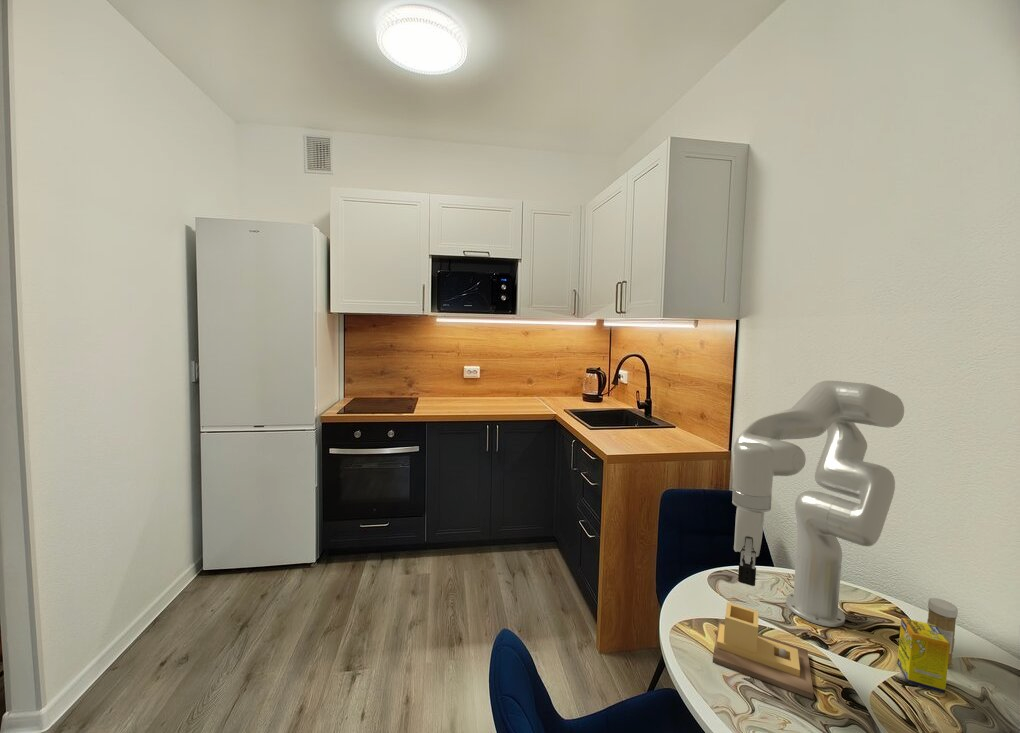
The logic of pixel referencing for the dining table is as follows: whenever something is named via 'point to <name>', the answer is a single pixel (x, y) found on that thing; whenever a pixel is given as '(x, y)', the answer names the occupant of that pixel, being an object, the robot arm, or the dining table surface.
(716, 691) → the dining table surface
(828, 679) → the dining table surface
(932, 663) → the supplement box
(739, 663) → the base
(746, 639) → the tan stepped holder block
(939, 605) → the sprinkles bottle
